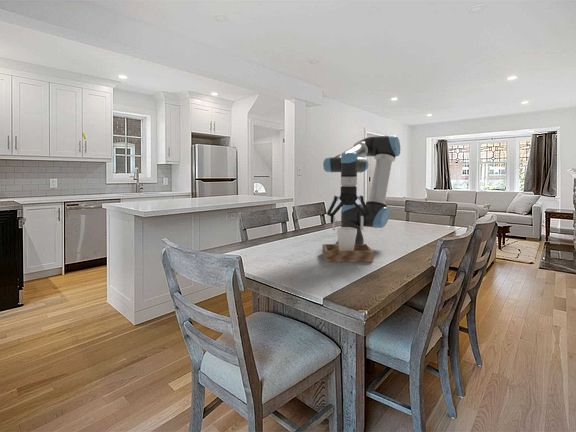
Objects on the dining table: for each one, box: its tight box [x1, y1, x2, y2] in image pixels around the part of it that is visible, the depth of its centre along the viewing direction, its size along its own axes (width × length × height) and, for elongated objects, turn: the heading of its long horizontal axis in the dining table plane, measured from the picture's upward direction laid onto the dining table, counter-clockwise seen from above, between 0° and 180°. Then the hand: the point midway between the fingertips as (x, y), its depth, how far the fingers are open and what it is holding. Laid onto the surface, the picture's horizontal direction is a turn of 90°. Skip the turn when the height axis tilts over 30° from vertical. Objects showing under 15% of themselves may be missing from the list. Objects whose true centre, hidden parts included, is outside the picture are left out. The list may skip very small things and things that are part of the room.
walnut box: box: [321, 243, 374, 263], centre depth 163 cm, size 22×15×5 cm
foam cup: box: [336, 226, 357, 251], centre depth 162 cm, size 10×9×13 cm
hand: (347, 229), depth 162 cm, fingers open, 13 cm apart
